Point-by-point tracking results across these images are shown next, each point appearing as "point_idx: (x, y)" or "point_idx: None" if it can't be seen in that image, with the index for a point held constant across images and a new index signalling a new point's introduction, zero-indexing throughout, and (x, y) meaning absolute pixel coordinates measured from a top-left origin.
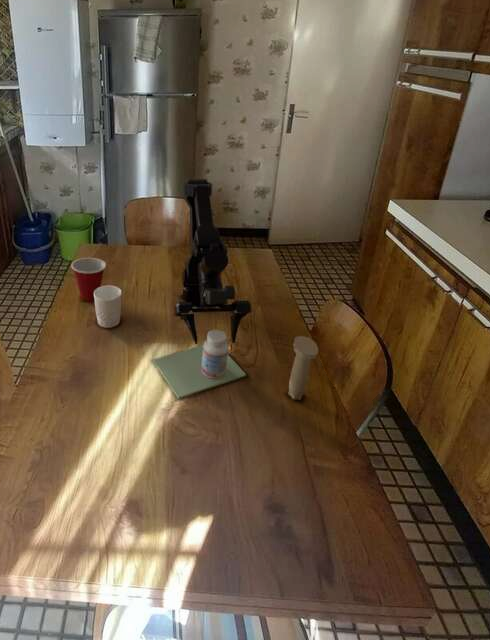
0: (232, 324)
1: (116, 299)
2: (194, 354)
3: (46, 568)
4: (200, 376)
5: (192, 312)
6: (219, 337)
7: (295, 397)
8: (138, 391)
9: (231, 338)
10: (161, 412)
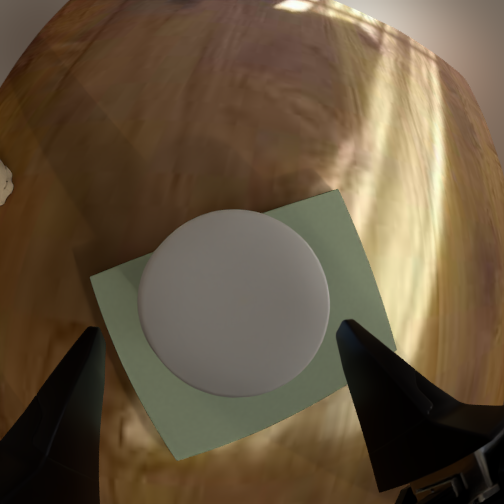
0: (75, 454)
1: None
2: (271, 393)
3: (416, 42)
4: None
5: (423, 499)
6: (221, 274)
7: (6, 166)
8: (418, 231)
9: (103, 374)
10: (368, 159)
